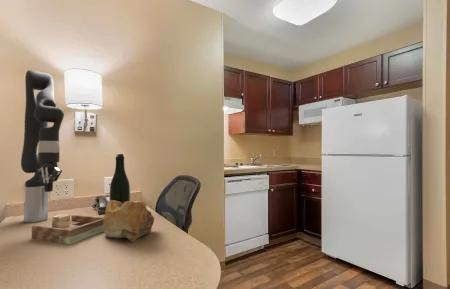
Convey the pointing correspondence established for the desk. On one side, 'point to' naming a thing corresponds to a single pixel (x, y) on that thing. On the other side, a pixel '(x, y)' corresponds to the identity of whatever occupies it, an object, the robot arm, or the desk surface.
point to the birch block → (61, 221)
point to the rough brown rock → (127, 220)
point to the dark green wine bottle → (120, 182)
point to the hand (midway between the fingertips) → (48, 191)
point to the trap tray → (70, 230)
